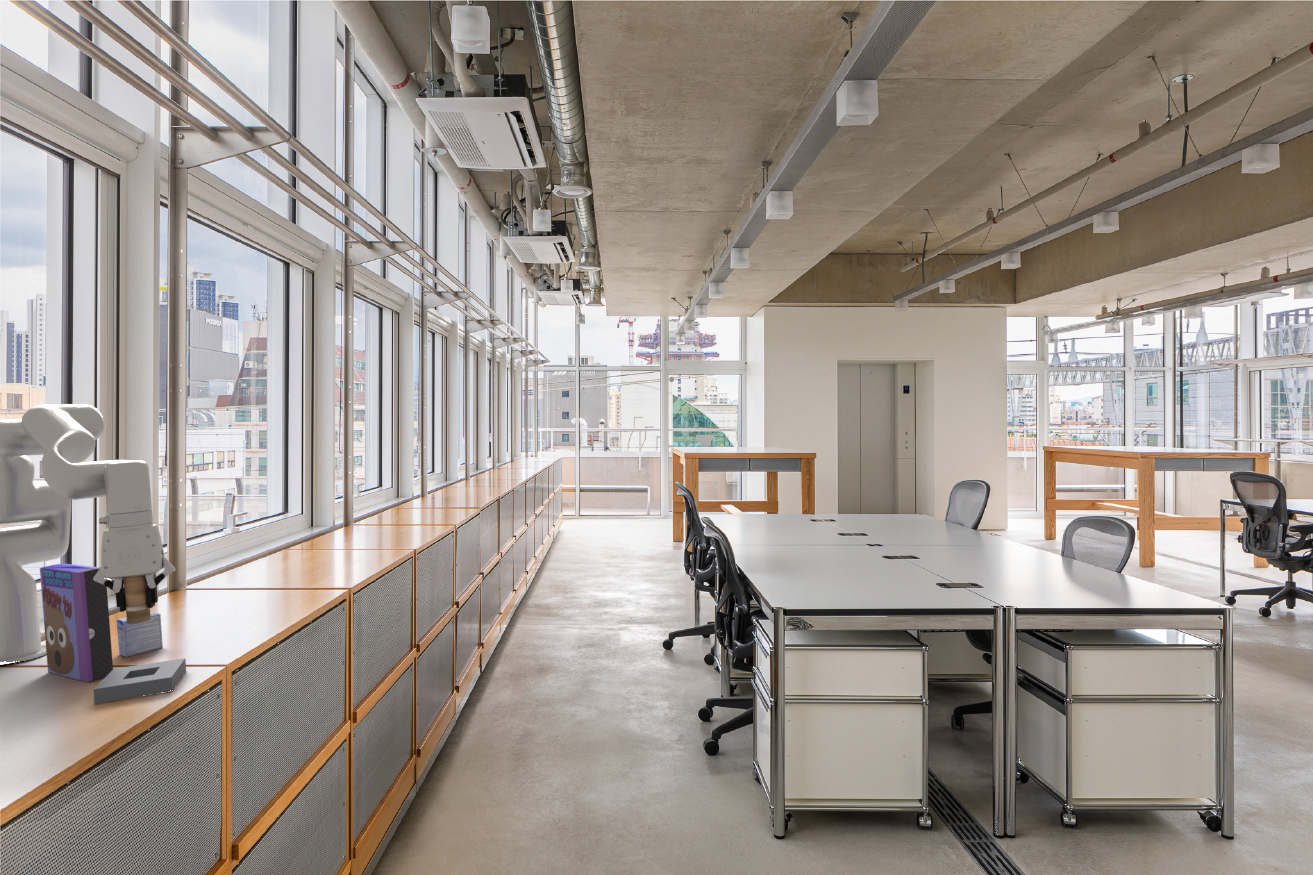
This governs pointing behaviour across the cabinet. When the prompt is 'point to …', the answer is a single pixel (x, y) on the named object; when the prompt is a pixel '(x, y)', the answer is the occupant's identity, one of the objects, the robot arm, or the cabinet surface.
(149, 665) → the board
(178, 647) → the cabinet surface
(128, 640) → the medicine box
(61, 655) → the cereal box
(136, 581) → the peg
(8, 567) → the robot arm
